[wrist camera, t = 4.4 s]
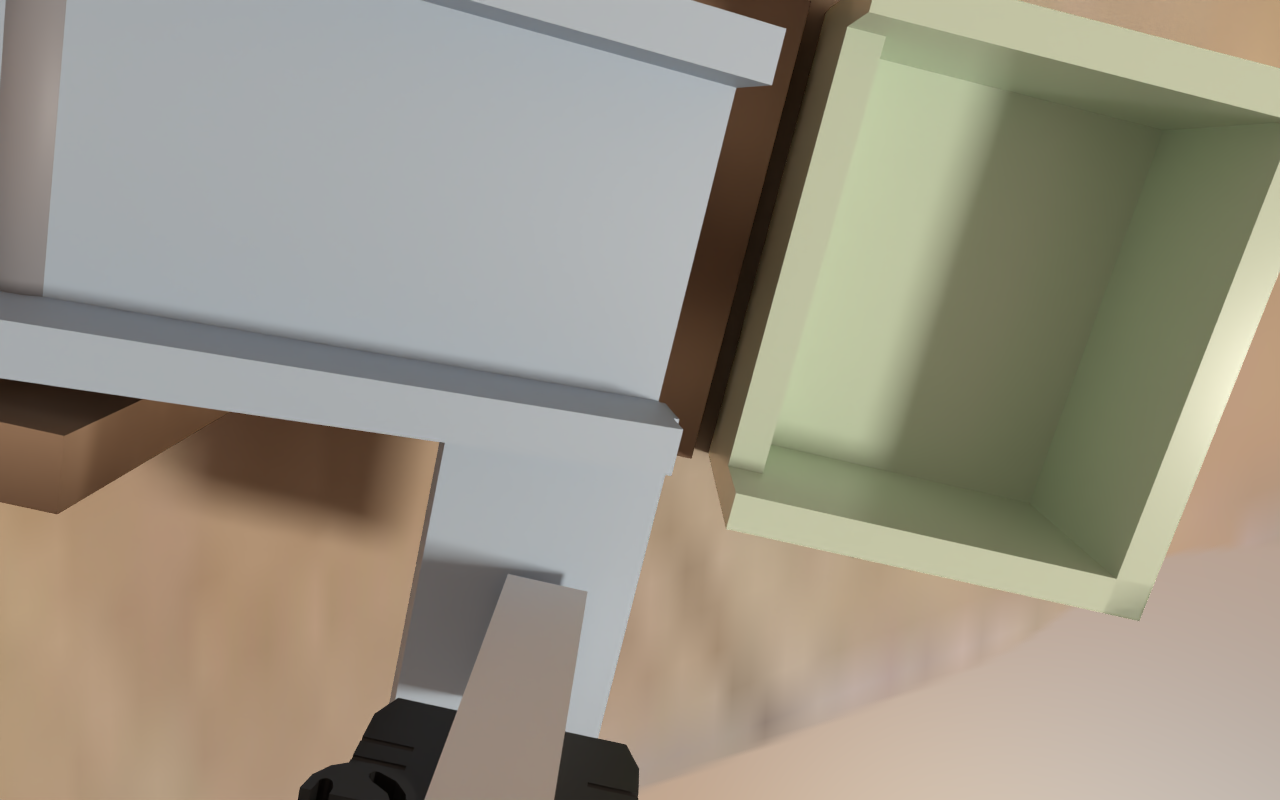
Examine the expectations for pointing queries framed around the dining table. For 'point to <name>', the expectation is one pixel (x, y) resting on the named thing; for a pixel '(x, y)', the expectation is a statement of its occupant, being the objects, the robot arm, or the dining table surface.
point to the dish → (1002, 296)
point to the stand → (140, 429)
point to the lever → (388, 254)
